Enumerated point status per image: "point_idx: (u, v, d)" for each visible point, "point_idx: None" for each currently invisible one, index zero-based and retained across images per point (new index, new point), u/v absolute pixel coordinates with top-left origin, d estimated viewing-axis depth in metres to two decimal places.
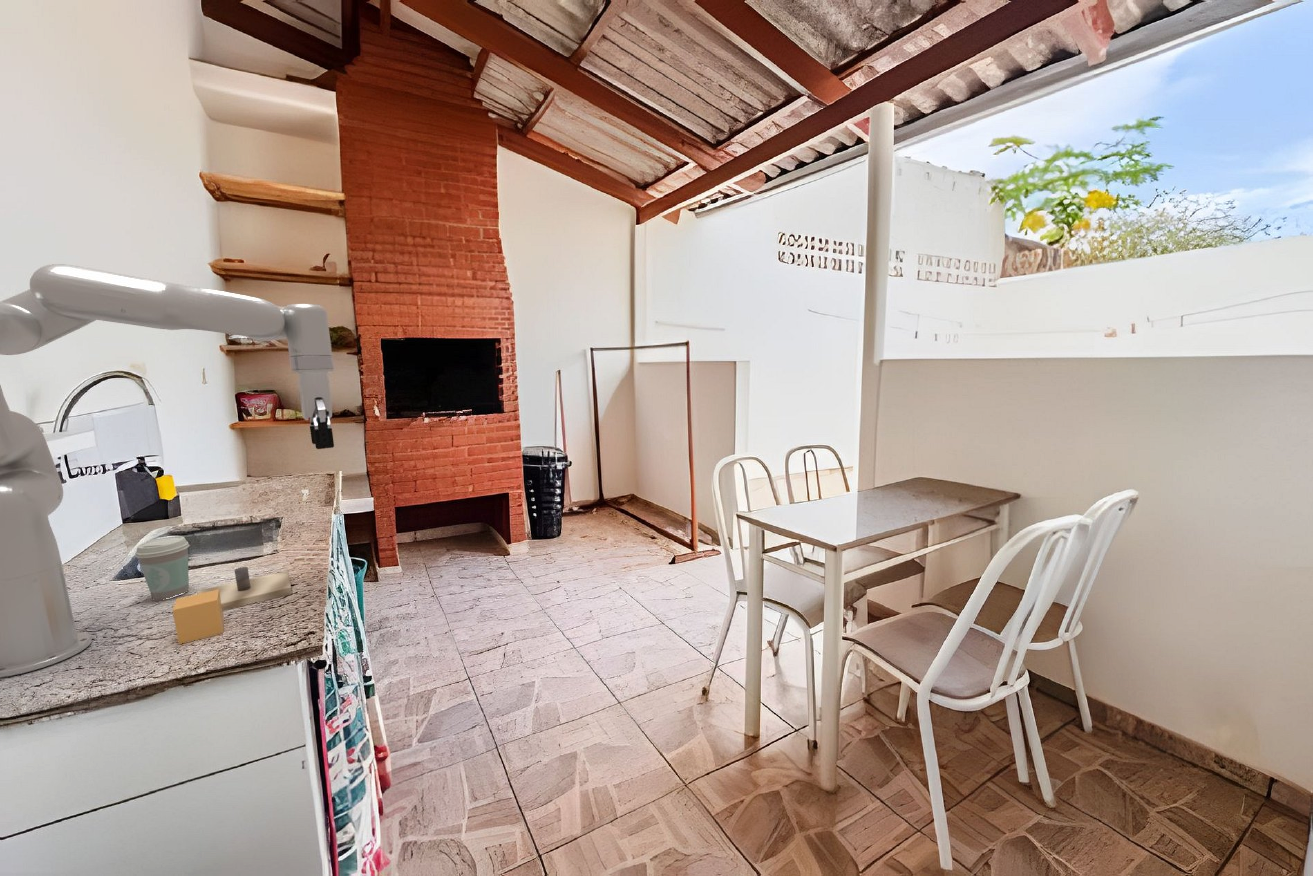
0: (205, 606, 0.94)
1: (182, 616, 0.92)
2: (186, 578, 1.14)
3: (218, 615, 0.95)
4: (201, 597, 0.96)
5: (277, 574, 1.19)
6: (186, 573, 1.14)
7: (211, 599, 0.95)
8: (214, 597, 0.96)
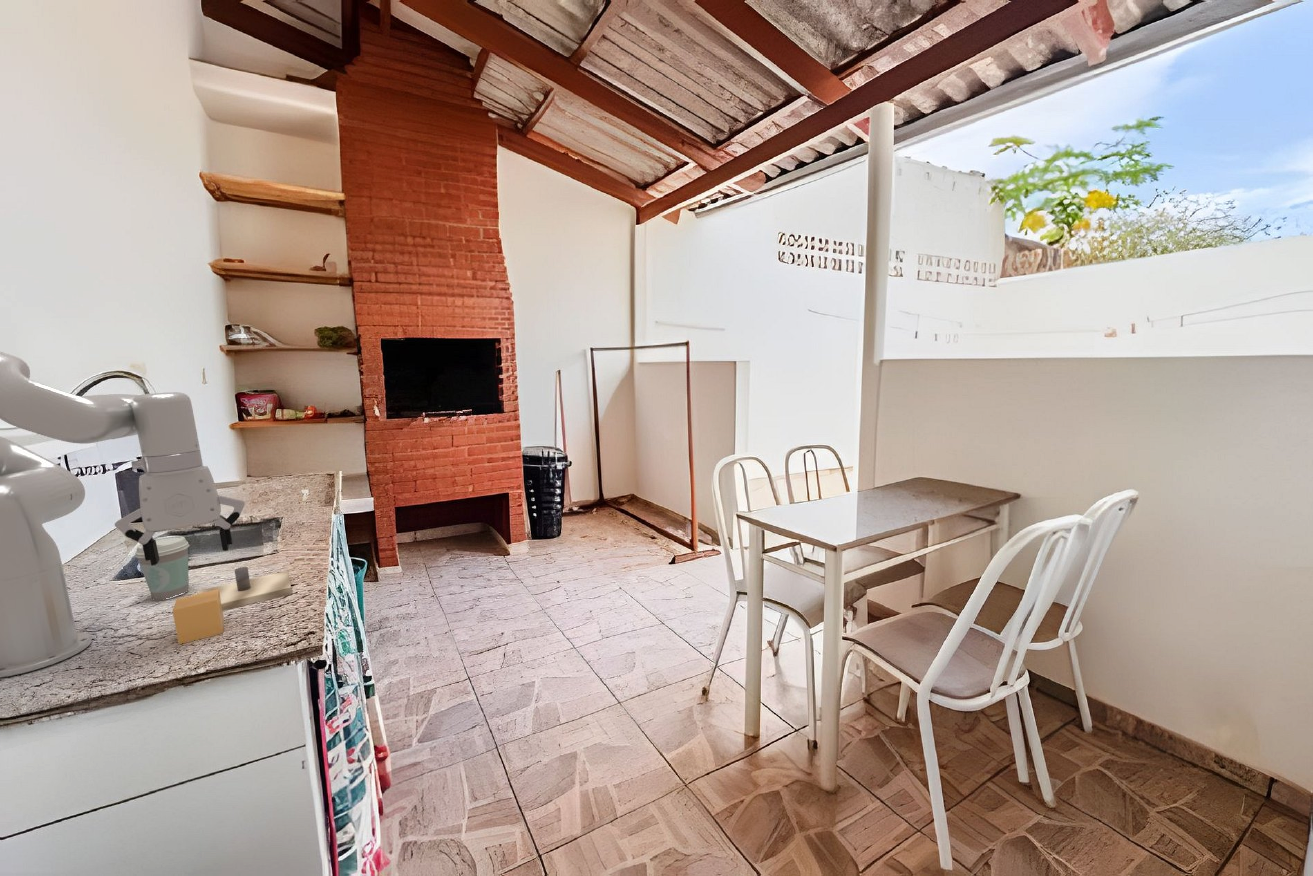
0: (205, 606, 0.94)
1: (182, 616, 0.92)
2: (186, 578, 1.14)
3: (218, 615, 0.95)
4: (201, 597, 0.96)
5: (277, 574, 1.19)
6: (186, 573, 1.14)
7: (211, 599, 0.95)
8: (214, 597, 0.96)
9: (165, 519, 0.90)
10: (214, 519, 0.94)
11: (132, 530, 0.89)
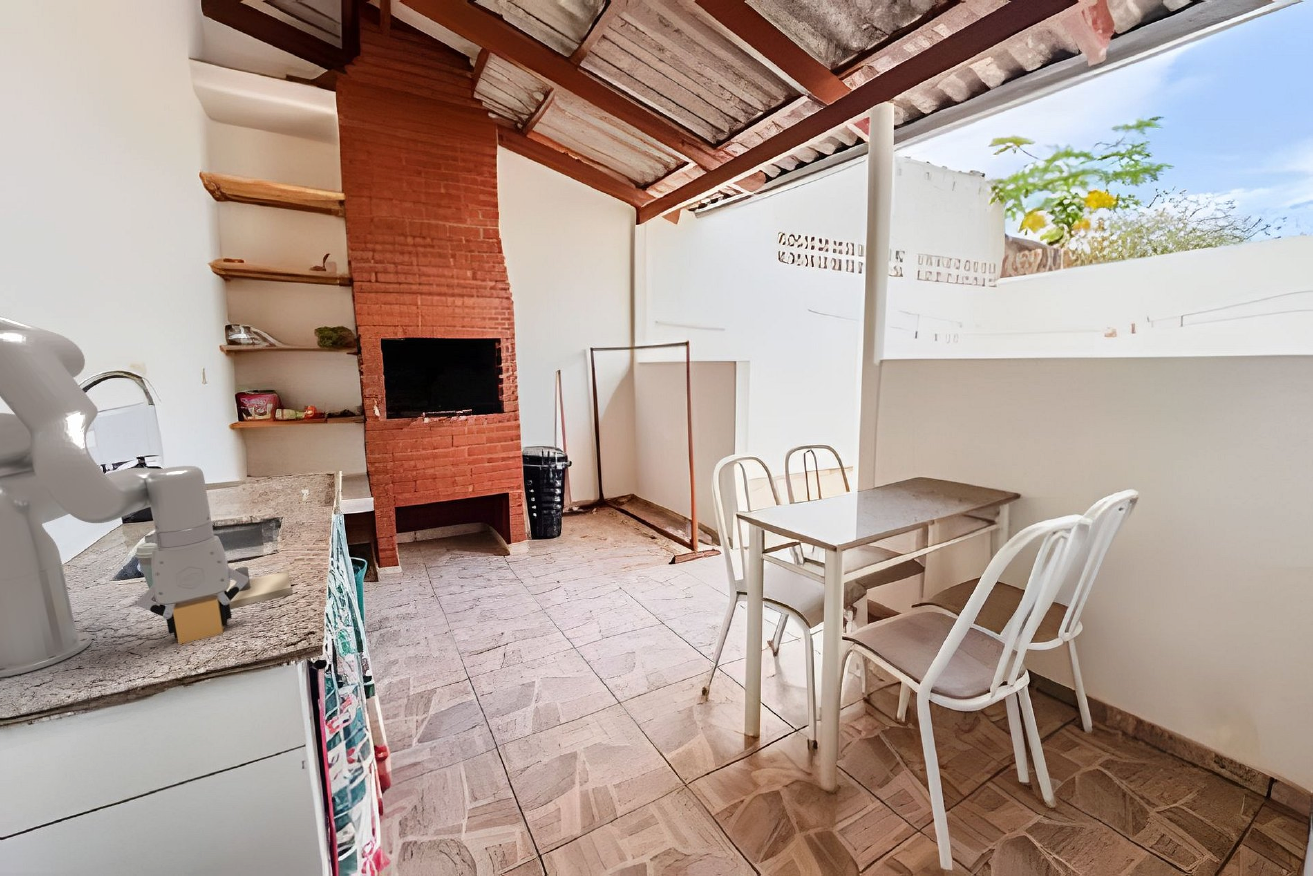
0: (205, 606, 0.94)
1: (182, 616, 0.92)
2: None
3: (218, 615, 0.95)
4: (202, 597, 0.96)
5: (277, 574, 1.19)
6: None
7: (211, 599, 0.95)
8: (214, 597, 0.96)
9: (176, 592, 0.92)
10: (224, 589, 0.96)
11: (157, 605, 0.92)
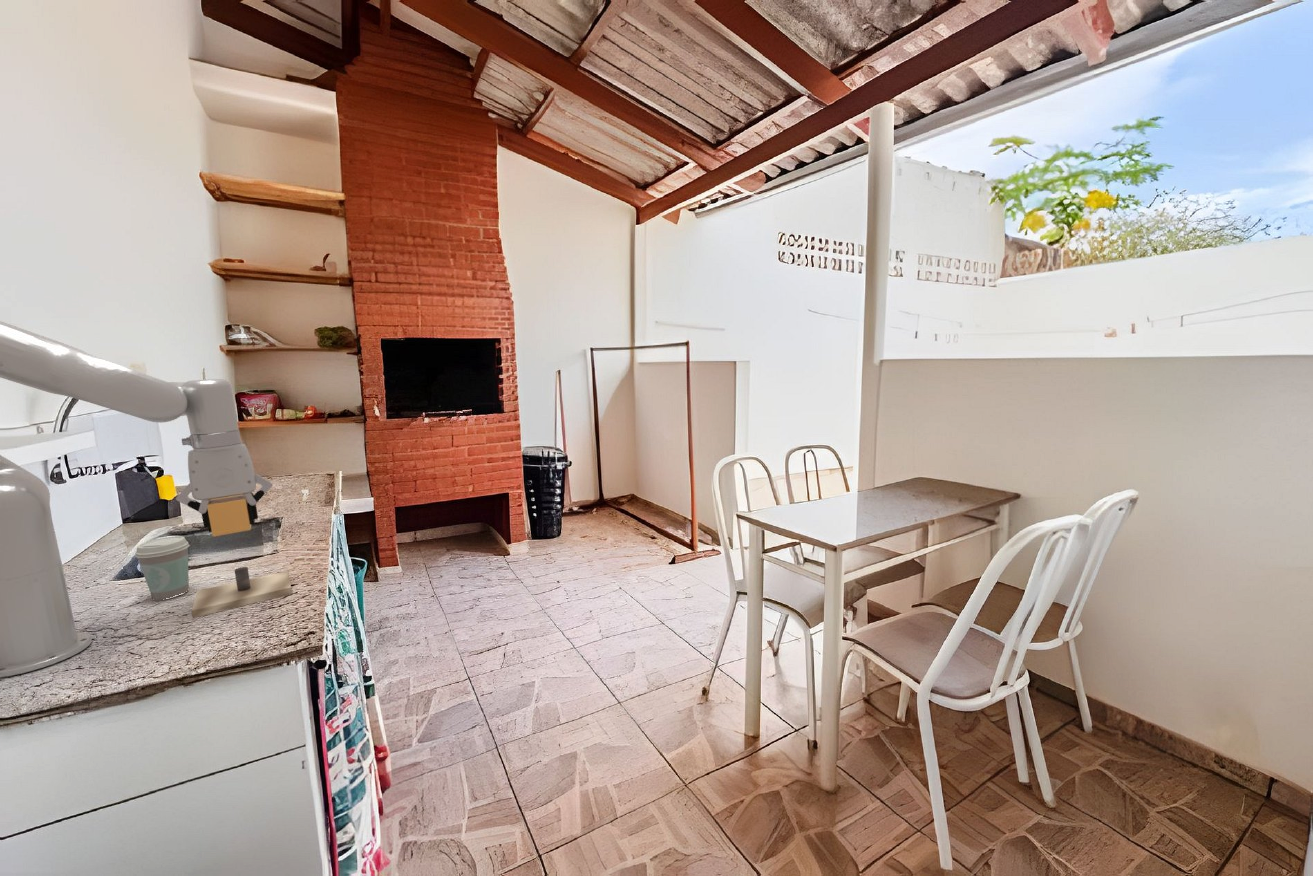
0: (235, 504, 1.06)
1: (215, 511, 1.04)
2: (186, 578, 1.14)
3: (246, 513, 1.07)
4: (231, 498, 1.08)
5: (277, 574, 1.19)
6: (186, 573, 1.14)
7: (240, 499, 1.07)
8: (243, 497, 1.08)
9: (210, 489, 1.03)
10: (251, 490, 1.07)
11: (193, 501, 1.04)
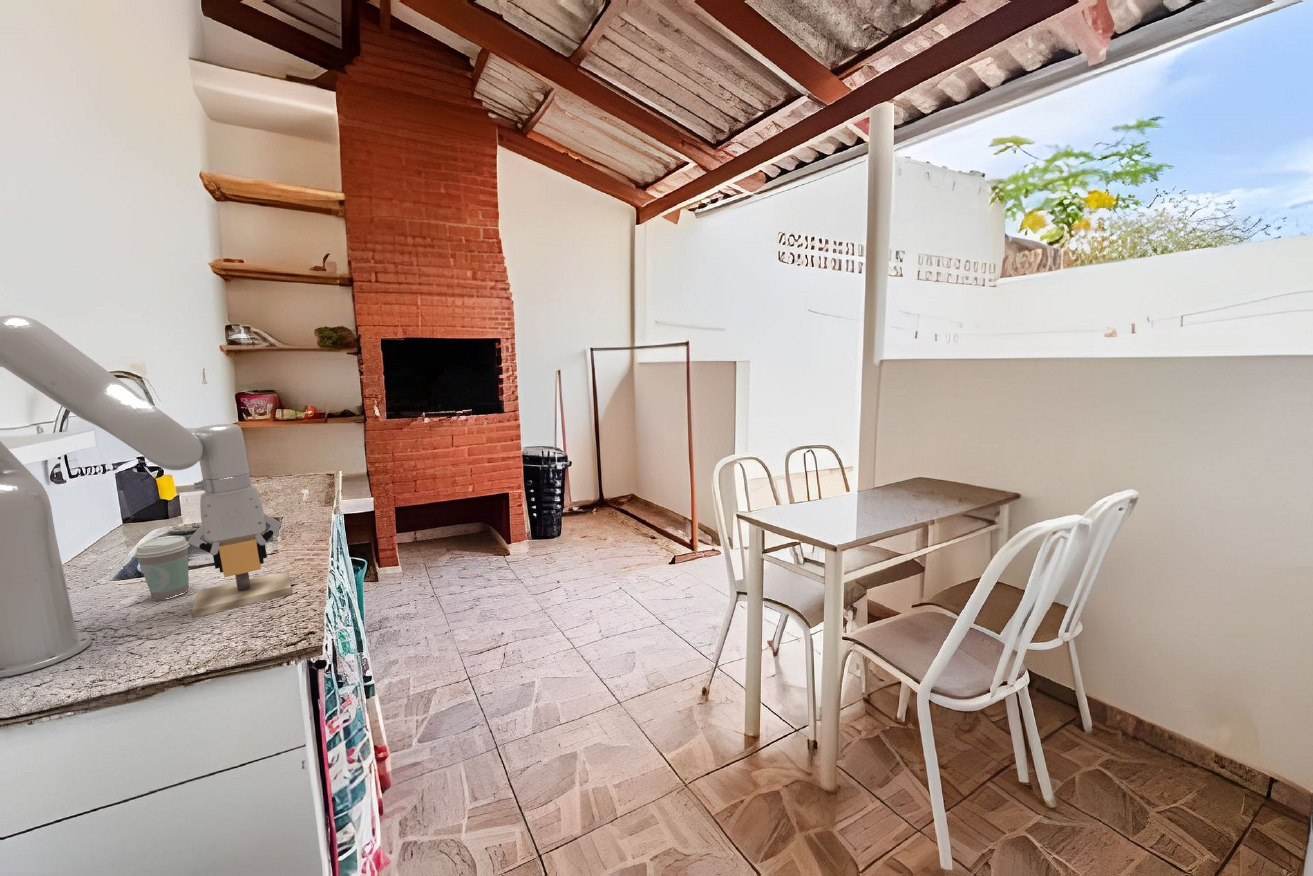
0: (245, 545, 1.09)
1: (227, 553, 1.07)
2: (186, 578, 1.14)
3: (257, 553, 1.10)
4: (242, 538, 1.11)
5: (277, 574, 1.19)
6: (186, 573, 1.14)
7: (250, 539, 1.10)
8: (253, 538, 1.11)
9: (221, 531, 1.06)
10: (261, 531, 1.10)
11: (205, 543, 1.07)
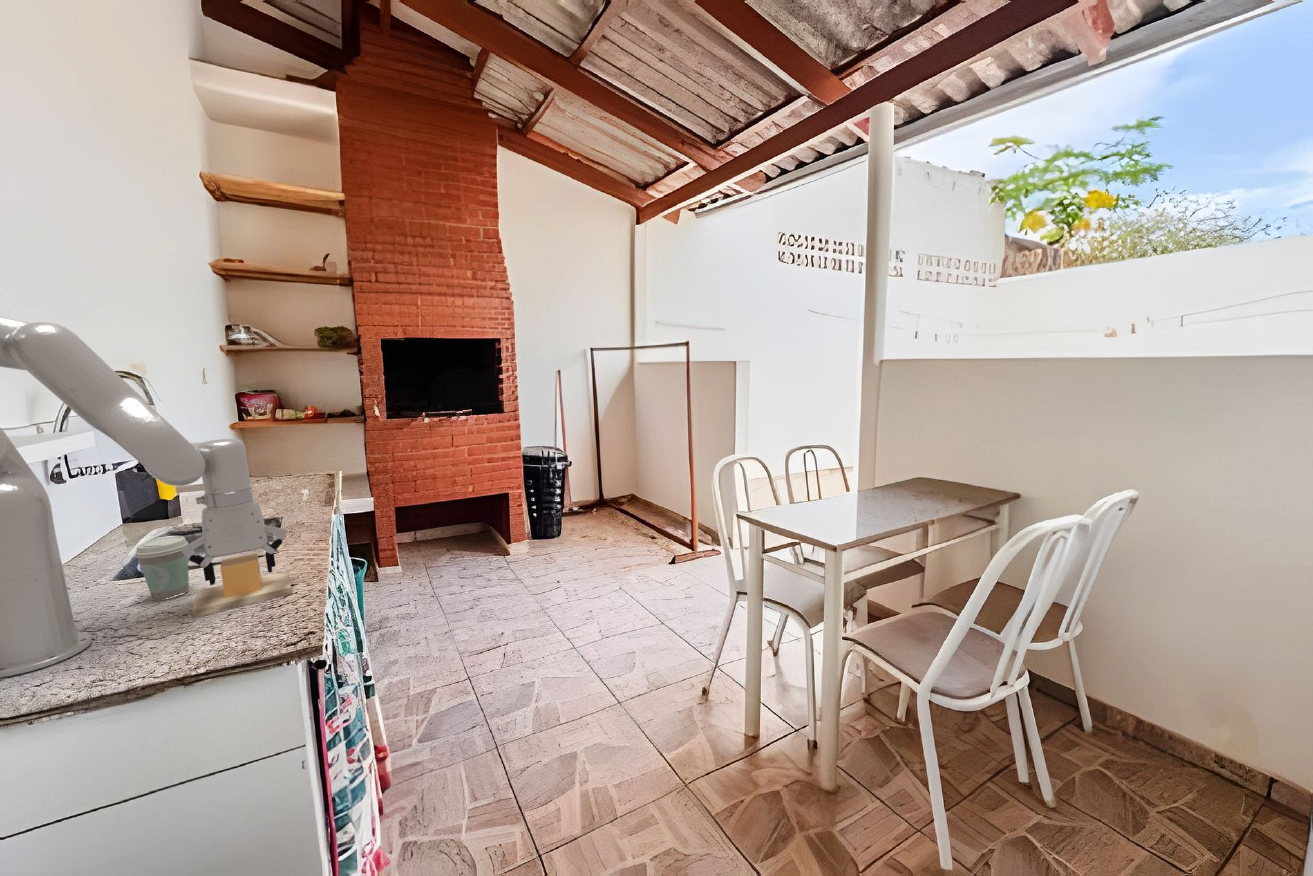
0: (247, 565, 1.09)
1: (228, 573, 1.07)
2: (186, 578, 1.14)
3: (258, 574, 1.10)
4: (243, 559, 1.11)
5: (277, 574, 1.19)
6: (186, 573, 1.14)
7: (252, 560, 1.10)
8: (254, 558, 1.11)
9: (223, 546, 1.07)
10: (262, 546, 1.11)
11: (195, 555, 1.06)
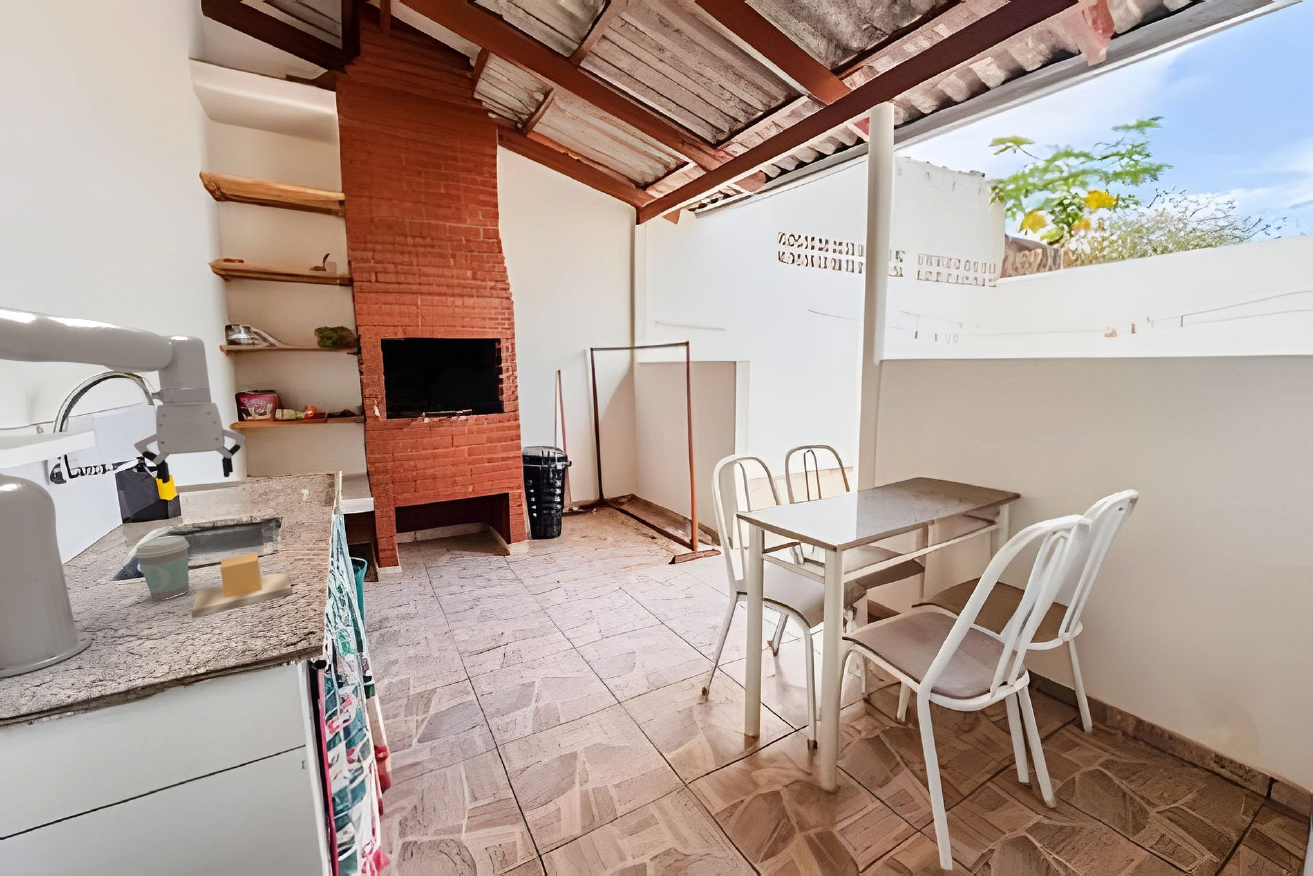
0: (247, 565, 1.09)
1: (228, 573, 1.07)
2: (186, 578, 1.14)
3: (258, 574, 1.10)
4: (243, 559, 1.11)
5: (277, 574, 1.19)
6: (186, 573, 1.14)
7: (252, 560, 1.10)
8: (254, 558, 1.11)
9: (176, 443, 1.05)
10: (218, 448, 1.08)
11: (148, 451, 1.04)
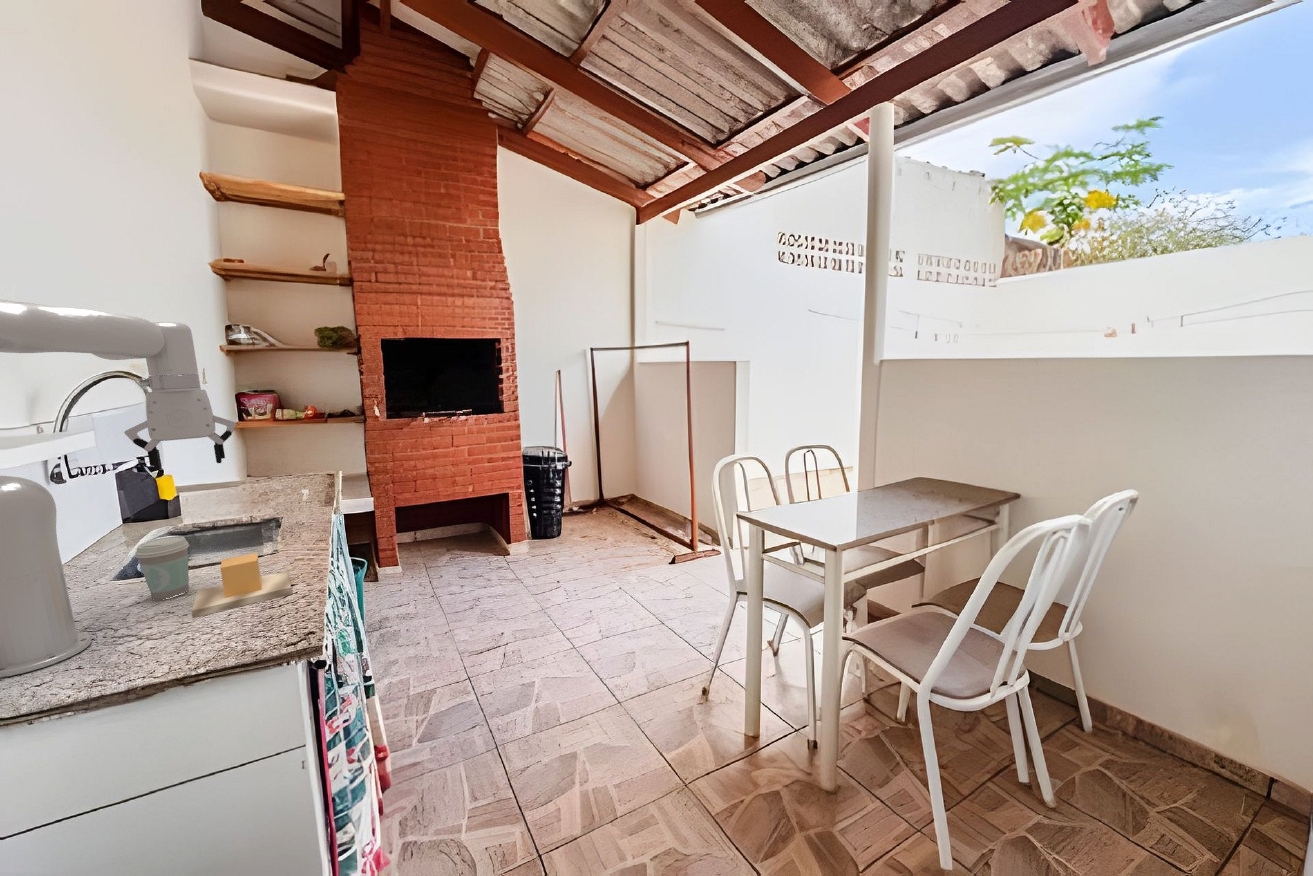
0: (247, 565, 1.09)
1: (228, 573, 1.07)
2: (186, 578, 1.14)
3: (258, 574, 1.10)
4: (243, 559, 1.11)
5: (277, 574, 1.19)
6: (186, 573, 1.14)
7: (252, 560, 1.10)
8: (254, 558, 1.11)
9: (167, 430, 1.05)
10: (209, 434, 1.09)
11: (139, 438, 1.04)
